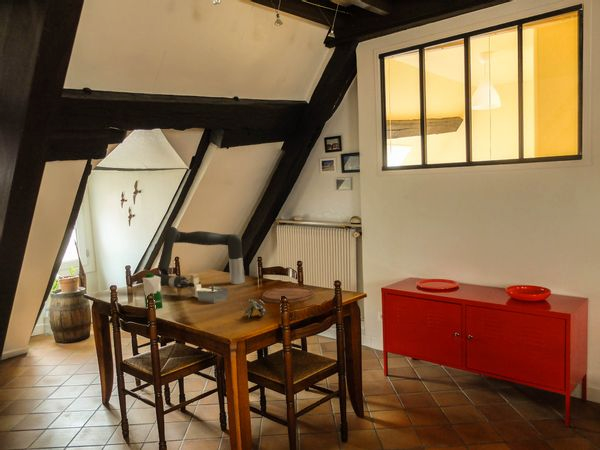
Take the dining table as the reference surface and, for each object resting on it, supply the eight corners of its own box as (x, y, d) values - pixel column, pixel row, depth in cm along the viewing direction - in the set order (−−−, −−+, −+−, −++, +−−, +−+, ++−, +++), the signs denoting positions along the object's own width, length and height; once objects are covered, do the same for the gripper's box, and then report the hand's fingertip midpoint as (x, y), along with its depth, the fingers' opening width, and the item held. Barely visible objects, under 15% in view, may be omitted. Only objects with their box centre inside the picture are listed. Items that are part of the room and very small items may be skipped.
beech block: (189, 295, 302) (187, 274, 301) (194, 293, 306) (193, 273, 305) (194, 296, 300) (193, 275, 298) (200, 294, 304) (198, 273, 302)
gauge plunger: (194, 296, 299) (193, 283, 298) (202, 294, 304) (201, 280, 303) (210, 299, 291) (209, 285, 290) (218, 296, 297) (217, 282, 296)
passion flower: (262, 326, 256) (271, 310, 250) (244, 326, 250) (252, 310, 244) (255, 310, 264) (263, 294, 258) (237, 310, 258) (245, 294, 252)
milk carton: (157, 304, 290) (154, 271, 287) (164, 307, 283) (161, 273, 281) (143, 308, 284) (140, 274, 282) (150, 311, 277) (147, 276, 275)
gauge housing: (198, 301, 293) (197, 290, 293) (212, 296, 303) (211, 286, 303) (214, 303, 286) (213, 292, 285) (228, 298, 296) (227, 288, 295)
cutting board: (304, 305, 273) (304, 300, 272) (252, 302, 284) (252, 298, 284) (321, 291, 303) (321, 287, 302) (274, 289, 314) (274, 285, 313)
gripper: (168, 278, 304) (188, 280, 294) (185, 273, 316) (205, 275, 306) (169, 290, 305) (189, 293, 295) (186, 285, 317) (205, 287, 307)
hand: (197, 284), depth 301 cm, fingers closed on beech block, 4 cm apart
